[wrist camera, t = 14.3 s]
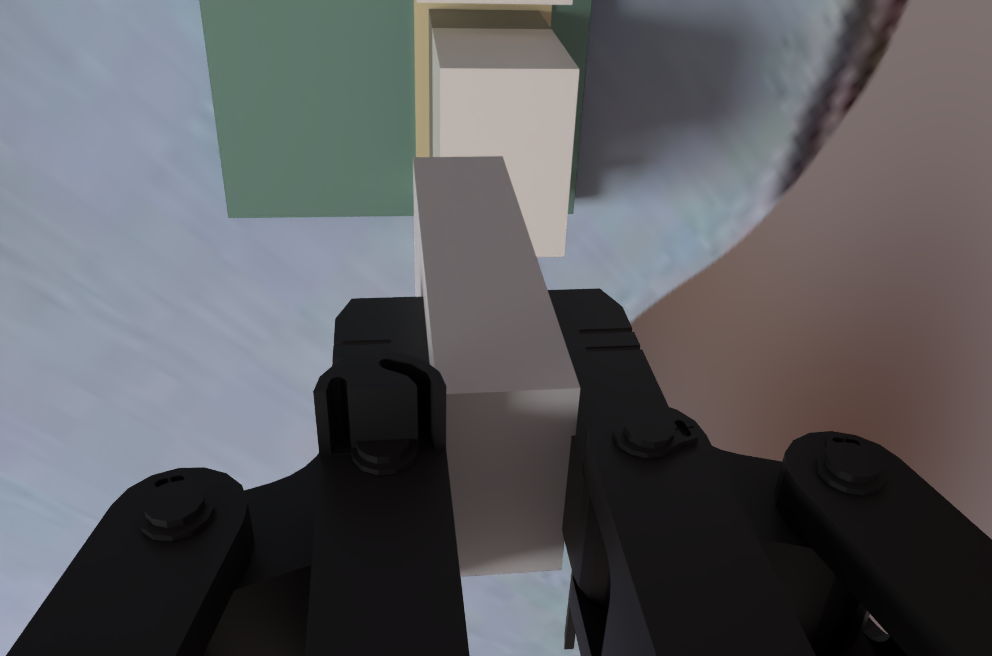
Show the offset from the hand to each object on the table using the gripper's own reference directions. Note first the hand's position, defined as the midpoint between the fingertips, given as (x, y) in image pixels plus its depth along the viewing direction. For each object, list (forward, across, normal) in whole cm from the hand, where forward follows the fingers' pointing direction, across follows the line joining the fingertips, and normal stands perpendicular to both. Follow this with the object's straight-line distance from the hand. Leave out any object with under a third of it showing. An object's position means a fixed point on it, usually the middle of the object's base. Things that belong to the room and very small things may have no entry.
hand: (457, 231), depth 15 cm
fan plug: (+19, +2, -4) cm, 20 cm away
